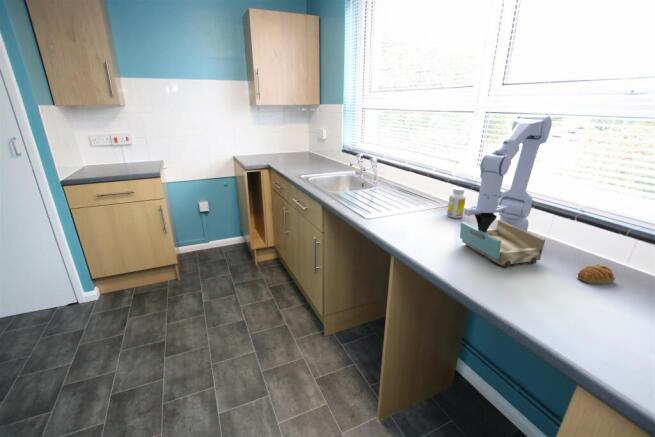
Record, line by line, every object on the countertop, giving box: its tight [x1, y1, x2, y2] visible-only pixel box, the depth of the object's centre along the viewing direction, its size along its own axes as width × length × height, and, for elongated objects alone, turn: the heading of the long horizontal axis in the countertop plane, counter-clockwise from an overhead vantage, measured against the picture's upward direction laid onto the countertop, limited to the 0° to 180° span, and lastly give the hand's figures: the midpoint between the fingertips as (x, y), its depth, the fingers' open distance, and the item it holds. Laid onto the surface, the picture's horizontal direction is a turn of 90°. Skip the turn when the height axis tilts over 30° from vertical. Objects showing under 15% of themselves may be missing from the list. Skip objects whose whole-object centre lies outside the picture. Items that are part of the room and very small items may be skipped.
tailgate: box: [459, 221, 501, 259], centre depth 101 cm, size 2×17×6 cm, turn 15°
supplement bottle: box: [446, 186, 467, 219], centre depth 140 cm, size 7×7×13 cm
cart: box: [461, 219, 546, 269], centre depth 104 cm, size 15×18×8 cm
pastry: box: [577, 264, 616, 285], centre depth 90 cm, size 9×7×4 cm
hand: (481, 234), depth 101 cm, fingers closed, pressing on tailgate
